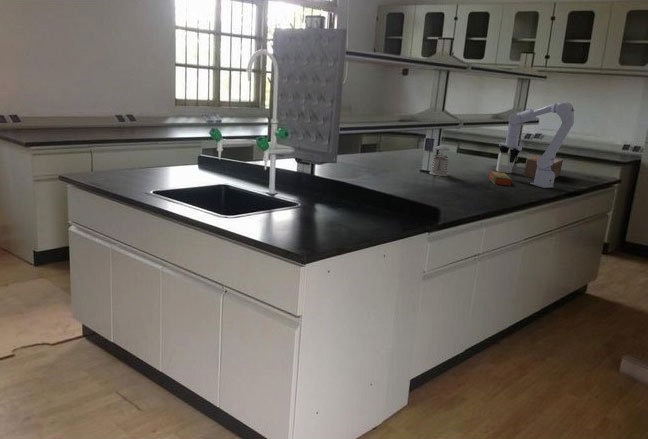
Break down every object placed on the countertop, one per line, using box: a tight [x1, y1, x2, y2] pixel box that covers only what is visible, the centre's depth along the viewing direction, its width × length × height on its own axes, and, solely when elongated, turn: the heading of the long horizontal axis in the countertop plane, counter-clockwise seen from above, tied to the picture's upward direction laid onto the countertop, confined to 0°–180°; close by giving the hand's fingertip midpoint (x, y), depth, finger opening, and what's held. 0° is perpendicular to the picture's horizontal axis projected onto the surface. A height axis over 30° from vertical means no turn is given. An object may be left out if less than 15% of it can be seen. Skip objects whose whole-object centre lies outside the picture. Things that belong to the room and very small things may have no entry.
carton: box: [488, 170, 512, 187], centre depth 303 cm, size 8×16×4 cm, turn 175°
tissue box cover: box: [523, 155, 564, 179], centre depth 335 cm, size 26×14×10 cm, turn 147°
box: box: [500, 152, 516, 167], centre depth 313 cm, size 5×5×6 cm
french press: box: [428, 133, 451, 177], centre depth 304 cm, size 10×12×25 cm
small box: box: [495, 152, 514, 174], centre depth 336 cm, size 8×6×10 cm
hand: (507, 161), depth 314 cm, fingers closed on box, 5 cm apart
